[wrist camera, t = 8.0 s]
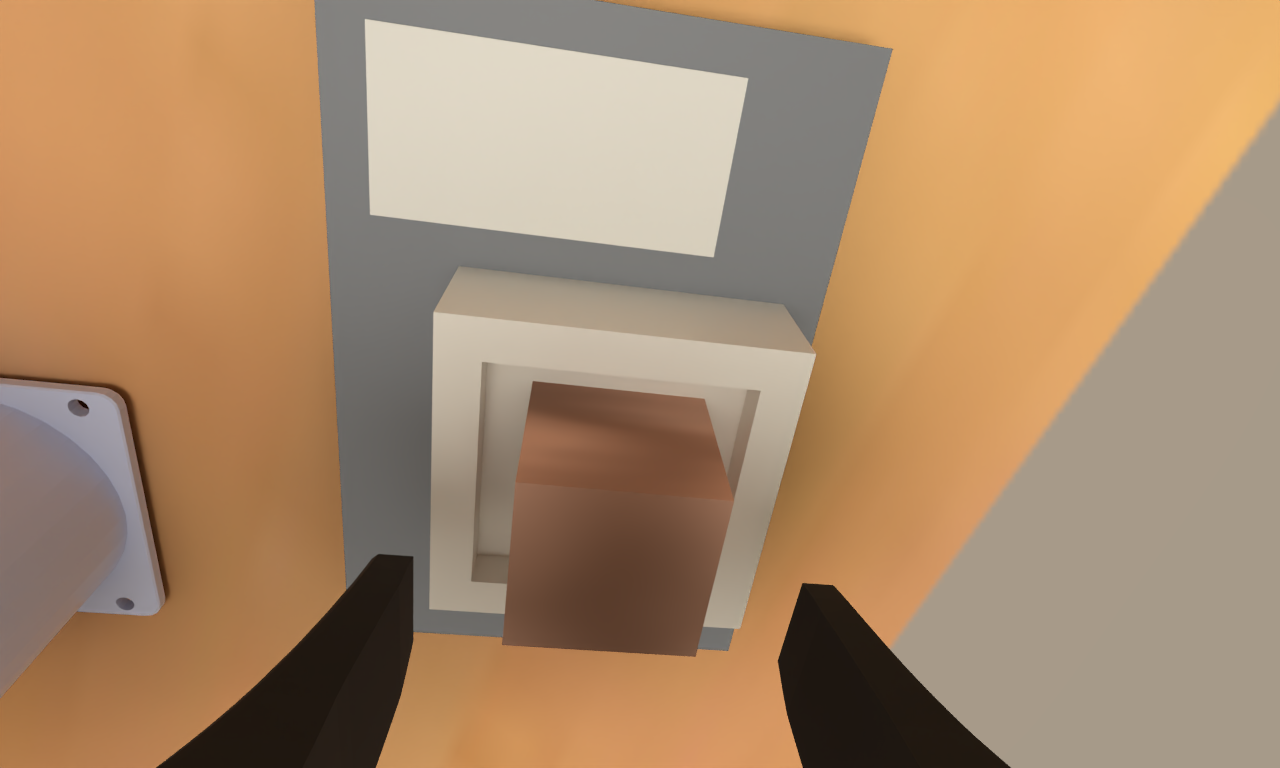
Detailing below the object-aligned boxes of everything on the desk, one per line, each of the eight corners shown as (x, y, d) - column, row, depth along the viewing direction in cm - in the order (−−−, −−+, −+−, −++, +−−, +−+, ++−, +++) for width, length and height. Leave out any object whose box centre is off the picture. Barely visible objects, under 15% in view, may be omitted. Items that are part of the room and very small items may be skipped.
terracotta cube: (520, 521, 18) (502, 645, 14) (532, 380, 16) (515, 482, 13) (675, 534, 18) (695, 656, 15) (704, 398, 17) (733, 501, 13)
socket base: (450, 532, 20) (429, 608, 18) (458, 265, 17) (433, 312, 14) (721, 552, 21) (739, 628, 19) (783, 304, 18) (816, 354, 15)
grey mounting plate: (362, 593, 23) (347, 630, 22) (336, -40, 15) (310, -47, 14) (720, 616, 25) (728, 653, 23) (868, 47, 17) (894, 49, 15)
